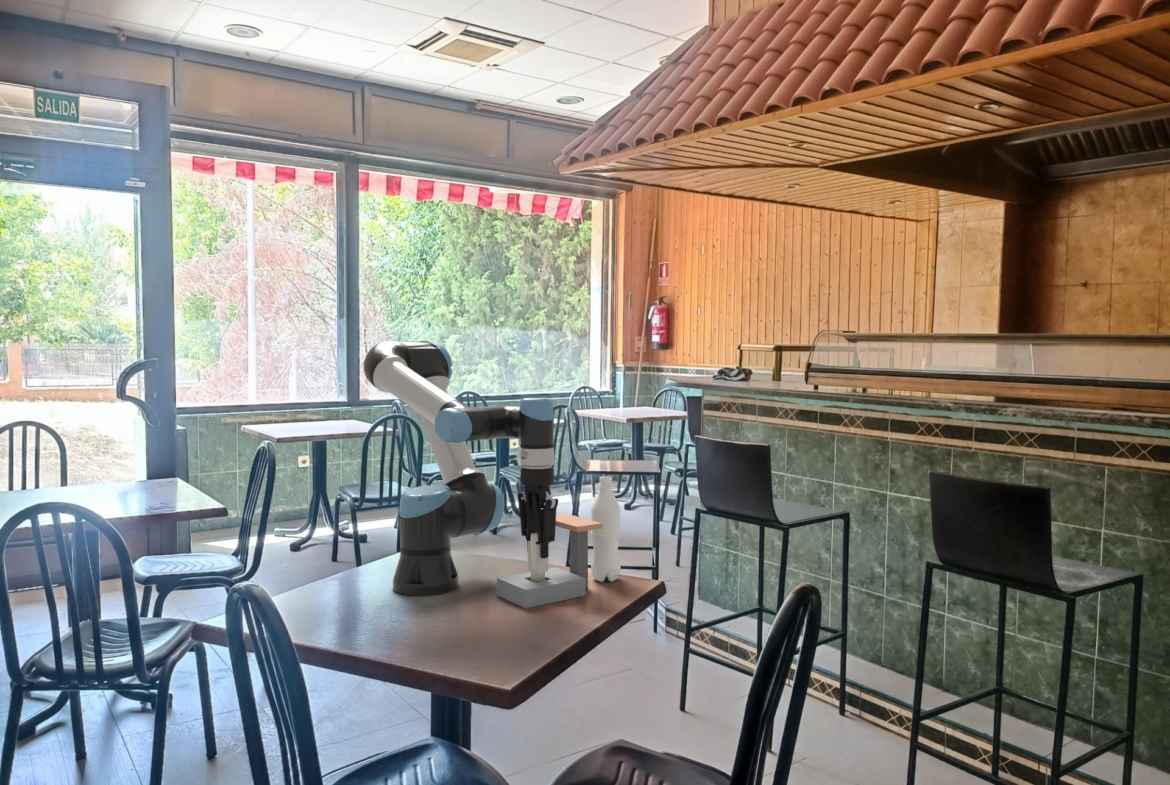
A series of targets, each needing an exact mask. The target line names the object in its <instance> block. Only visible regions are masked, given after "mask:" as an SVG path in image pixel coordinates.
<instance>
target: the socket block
mask: <svg viewBox="0 0 1170 785" xmlns="http://www.w3.org/2000/svg"><path fill="white" fill-rule="evenodd" d="M496 583H497V584H496V585H497V586H496V588H497V591H496V592H497V593H496V594H497V596H498V597H500V598H502V599H504V600H506V601H508V602H511V603H512V604H515V605H517V606H519V607H522V608H523V609H531V608H535V607H539V606H544V605H548V604H553V603H557V602H558V603H559V602H562V601H566V600H567V601H568V600H571V598H572V599H576V598H575V597H577V598H580V597H579V596H581V597H585V596H584V595H586V592H587V591H586V589H587V588H586V578H584V577H581V576H578V575H576V574H573V573H570V571H566V570H564V569H562V568H559V567H556V566H555V567H550V568H549V567H548V571H547V572H545V581H541V582H536V583H534V582H532V581H531V571H528V572H522V573H518V574H512V575H506V576H500V577H496Z"/></svg>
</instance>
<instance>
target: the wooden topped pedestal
mask: <svg viewBox="0 0 1170 785" xmlns="http://www.w3.org/2000/svg"><path fill="white" fill-rule="evenodd" d="M555 527H558V528H561V529H565V530H567V531H568V530H569V572H570V573H573V574H576V575H578V576H581V577H584V578H586V589H589V540H588V539H589V537H588V535H589V531H591V530H595V529H601V528H602V523H600V522H596V521H592V520H591V519H588V518H583V517H580V516H578V515H573V514H568V513H562V514H556V526H555Z"/></svg>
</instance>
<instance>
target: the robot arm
mask: <svg viewBox="0 0 1170 785" xmlns="http://www.w3.org/2000/svg"><path fill="white" fill-rule="evenodd" d="M452 366H453V361H452V358H451V355H450V353H449V351H448V350H447V348H445V347H444V345H442V344H440V343H438V342H436V341H430V340H429V341H428V340H420V341H413V340H412V341H408V340H407V341H406V340H403V341H402V340H398V341H397V340H386V341H382V342H379V343H377V344H376V345H374V346H373V347H371V348H370V349H369V350H368V352H367V354H366V356H365V357H364V361H363V373H364V376H365V377H366V380H367V381H368V382H369V383H370V384H371V385H372V386H373V387H374V388H375V389H377V390H378V391H380V392H383V393H385V394H387V393H390V394H391V395H392V396H394V397H395V398H397V399H399V400H400V401H401V402H403V403H404V404H405V405H407V406H408V407H409V408H411V409H412V410H414V411H415V412H417V413H418V414H419V416H420V420H421V421H422V424H423V428H424V430H425V433H426V435H427V439H428V441H429V444H430V447H431V450H432V453H433V455H434V456H433V457H434V458H435V460H436V464H437V467H438V470H439V472H440V475H441V478H442V481H443V482H442V484H441V483H440V484H437V483H436V484H435V483H434V484H429V485H428V484H427V485H420V486H416V487H414V488H413V487H412V488H410V489H408V490H406V491H405V492H404V493H403V494H402V495H401V497H400V501H399V509H398V513H399V537H400V538H399V541H400V542H399V546H400V547H399V549H400V552H399V553H400V554H399V559H398V562H397V566H396V569H395V572H394V575H393V578H392V579H393V580H392V590H393V591H394V592H396V593H398V594H401V595H406V596H434V595H441V594H445V593H448V592H451V591H454V590H455V589H457V588H458V587H459V574H458V571H457V568H456V564H455V562H454V559H453V556H452V552H451V550H452V549H451V545H452V544H451V543H452V542H451V540H452V539H454V538H460V537H465V536H469V535H475V534H478V535H479V534H484V533H485V532H489V531H492V530H494V529H495V528H497V527H498V526H499V525H500V523H501V522H502V519H503V517H504V515H503V514H504V513H505V498H504V494H503V492H502V489H501V488H500V486H497V484H495V483H490V482H488V480H487V478H486V475H485V472H482V471H481V470H478V469H477V468H476V466H475V462H474V460H473V458H472V455H471V452H470V449H469V447H468V444H467V442H474V441H485V440H486V441H487V440H496V439H520V440H519V441H520V443H519V444H520V446H519V448H520V454H519V456H520V465H521V466H522V467H521V468H520V483H521V484H522V486H524V490H523V491H521V492H517V499H518V503H519V516H520V519H519V520H520V533H521V536H522V537H525V540H526V541H527V543H526V544H527V547H526V548H527V570H529V571H531V538H530V534H531V533H538V542H536V573H542V572H547V571H548V569H549V554H550V553H549V551H550V550H549V548H550V547H549V546H550V545H549V544H550V543H551V542H552V543H553V542H555V539H556V527H557V526H556V515H557V509H558V505H559V499H558V498H554V497H552V495H551V494H552V492H551V489H550V487H551V485H554V483H555V468H554V466H553V465H554V464H555V447H554V439H555V438H554V436H555V435H554V433H555V432H554V431H555V429H554V427H555V426H554V425H555V422H554V419H555V414H554V413H555V412H554V403H553V400H552V399H551V398H548V397H524V398H521V399H520V401H519V405H509V404H508V405H507V404H494V405H487V406H467V405H466V404H464V403H462V402H461V401H459V400H458V399H456V398H455V397H454V396H453V395H450V394H449V393H448V390H447V389H448V386H449V385H450V379H451V378H452V375H453V369H452Z"/></svg>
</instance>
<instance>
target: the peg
mask: <svg viewBox="0 0 1170 785" xmlns="http://www.w3.org/2000/svg"><path fill="white" fill-rule="evenodd" d="M530 538H531V570H530V572H531V581H532V582H534V583H536V582H541V581H545V572H542V573H536V542H538V533H531V534H530Z"/></svg>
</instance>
